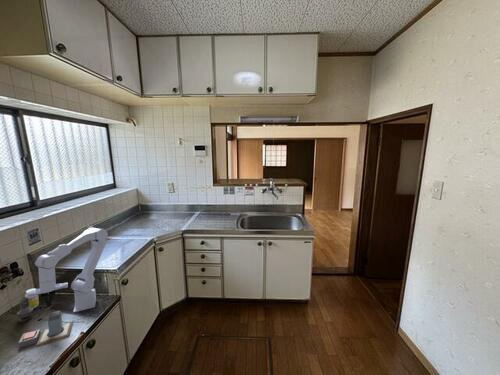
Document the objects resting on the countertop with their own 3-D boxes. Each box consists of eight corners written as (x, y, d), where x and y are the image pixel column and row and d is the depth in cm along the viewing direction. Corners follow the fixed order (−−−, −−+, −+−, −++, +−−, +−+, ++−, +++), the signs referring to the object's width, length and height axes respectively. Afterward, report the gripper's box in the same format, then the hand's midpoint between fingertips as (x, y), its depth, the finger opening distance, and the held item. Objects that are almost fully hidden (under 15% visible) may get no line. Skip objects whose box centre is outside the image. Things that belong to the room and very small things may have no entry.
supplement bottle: (41, 304, 121) (40, 288, 120) (29, 310, 116) (27, 294, 115) (35, 302, 123) (33, 286, 122) (22, 308, 118) (21, 292, 117)
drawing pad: (72, 322, 109) (72, 320, 108) (69, 336, 100) (68, 334, 100) (43, 331, 103) (43, 329, 103) (36, 346, 94) (36, 344, 94)
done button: (36, 334, 99) (36, 330, 99) (34, 340, 96) (33, 336, 96) (25, 337, 97) (25, 333, 97) (22, 343, 94) (22, 339, 94)
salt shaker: (23, 322, 108) (21, 300, 106) (14, 320, 109) (12, 298, 108) (36, 314, 113) (35, 293, 112) (28, 313, 114) (26, 291, 113)
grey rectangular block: (62, 327, 104) (61, 309, 103) (60, 332, 101) (59, 314, 100) (51, 330, 102) (49, 312, 101) (49, 336, 99) (47, 317, 98)
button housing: (40, 334, 101) (40, 329, 101) (36, 342, 96) (36, 337, 96) (23, 339, 98) (23, 333, 98) (18, 348, 93) (18, 342, 93)
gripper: (66, 271, 112) (68, 296, 113) (26, 280, 102) (28, 307, 103) (67, 277, 106) (68, 303, 108) (25, 287, 97) (27, 315, 98)
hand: (49, 305), depth 105 cm, fingers closed
